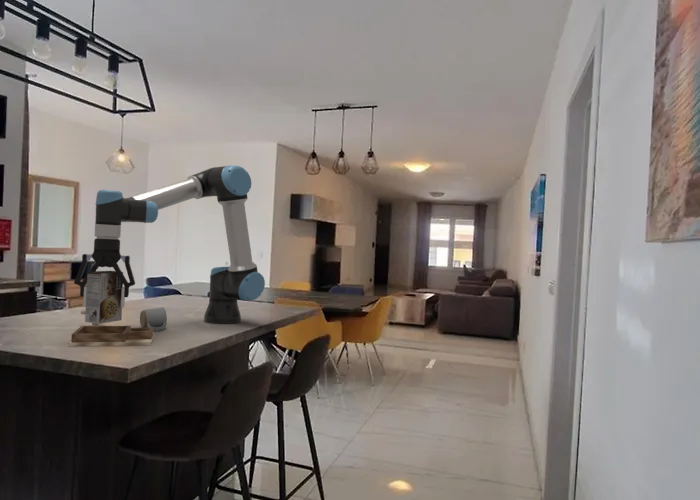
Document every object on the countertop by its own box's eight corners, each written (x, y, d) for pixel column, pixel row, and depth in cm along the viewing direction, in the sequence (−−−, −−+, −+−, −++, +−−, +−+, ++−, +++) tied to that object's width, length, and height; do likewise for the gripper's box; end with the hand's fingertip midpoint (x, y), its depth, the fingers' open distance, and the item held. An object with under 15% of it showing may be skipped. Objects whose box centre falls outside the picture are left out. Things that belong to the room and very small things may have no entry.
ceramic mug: (138, 327, 188) (139, 307, 188) (160, 326, 193) (161, 306, 193) (147, 332, 180) (148, 311, 180) (169, 331, 185) (171, 310, 185)
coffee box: (107, 318, 167) (109, 270, 166) (122, 320, 164) (124, 271, 164) (83, 322, 158) (86, 271, 158) (99, 324, 156) (101, 272, 156)
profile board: (153, 335, 174) (154, 325, 174) (150, 345, 158) (151, 334, 158) (79, 335, 167) (80, 325, 167) (68, 346, 151) (69, 334, 151)
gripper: (146, 240, 168) (143, 306, 168) (70, 236, 161) (66, 305, 161) (144, 240, 161) (141, 308, 161) (64, 236, 154) (61, 308, 154)
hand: (104, 307), depth 161 cm, fingers closed on coffee box, 10 cm apart
